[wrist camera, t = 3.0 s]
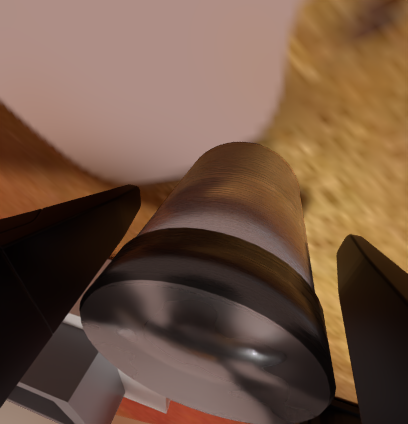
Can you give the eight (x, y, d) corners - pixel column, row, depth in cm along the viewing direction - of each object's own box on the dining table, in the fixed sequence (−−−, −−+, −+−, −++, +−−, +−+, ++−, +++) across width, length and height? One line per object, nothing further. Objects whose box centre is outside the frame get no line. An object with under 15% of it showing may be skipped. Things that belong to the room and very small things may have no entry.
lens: (322, 152, 8) (414, 355, 3) (281, 252, 11) (283, 445, 6) (187, 129, 9) (40, 244, 3) (182, 228, 12) (100, 373, 7)
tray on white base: (189, 282, 15) (133, 422, 9) (182, 361, 22) (149, 466, 16) (-10, 224, 17) (-148, 304, 12) (42, 311, 24) (-29, 386, 19)
